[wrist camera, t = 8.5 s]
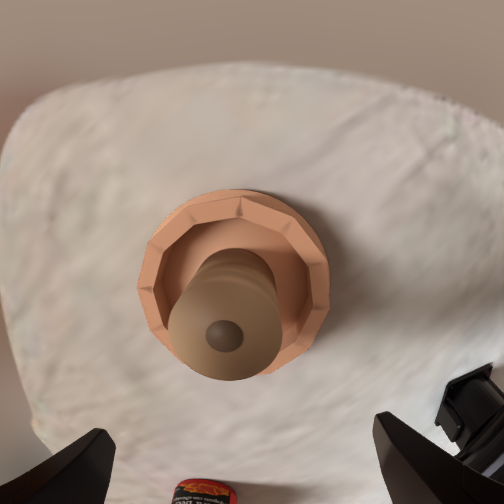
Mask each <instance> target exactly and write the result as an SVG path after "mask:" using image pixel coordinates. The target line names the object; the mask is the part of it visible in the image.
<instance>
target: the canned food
mask: <svg viewBox="0 0 504 504" xmlns="http://www.w3.org/2000/svg"><path fill="white" fill-rule="evenodd" d="M171 504H237V498H236V494H235V492H234V491H233V490H232V489H231V488H230V487H228V486H226V485H224V484H222V483H219V482H215V481H211V480H205V479H189V480H185V481H182V482H180V483H179V484H178V486H177V487H176V489H175V491H174V495H173V499H172V503H171Z"/></svg>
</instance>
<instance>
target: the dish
mask: <svg viewBox="0 0 504 504" xmlns="http://www.w3.org/2000/svg"><path fill="white" fill-rule="evenodd" d="M227 248H241V249H245V250H249V251H251V252H253V253H255V254H257V255H258V256H260V257H261V258H262V259H263V260H264V261H265V262H266V263H267V264H268V266H269V267H270V269H271V270H272V273H273V275H274V279H275V284H276V291H277V297H278V304H279V310H280V317H281V323H282V332H283V338H282V344H281V348H280V351H279V353H278V355H277V356H276V358H275V360H274V361H273V362H272V363H271V364H270V365H269V366H268V367H267V368H266V369H265V370H263V371H262V372H260V373H258V374H256V375H261V374H269V373H272V372H274V371H275V370H277V369H279V368H280V367H282V366H283V365H285V364H287V363H288V362H290V361H291V360H293V359H294V358H296V357H297V356H299V355H300V354H302V353H303V352H305V351H306V350H308V348H310V346H311V344H312V342H313V341H314V339H315V337H316V335H317V333H318V331H319V329H320V327H321V325H322V324H323V322H324V320H325V318H326V316H327V314H328V312H329V310H330V297H329V289H330V271H329V265H328V260H327V257H326V254H325V250H324V248H323V246H322V244H321V242H320V240H319V238H318V236H317V235H316V233H315V232H314V230H313V229H312V227H311V226H310V225H309V224H308V223H307V222H306V220H305V219H304V218H303V217H302V216H300V215H299V214H298V213H297V212H296V211H295V210H293V209H292V208H291V207H289V206H288V205H286V204H285V203H283V202H281V201H280V200H277V199H275V198H273V197H271V196H269V195H265V194H262V193H259V192H255V191H248V190H235V189H230V190H221V191H215V192H211V193H207V194H204V195H201V196H199V197H196V198H194V199H191V200H190V201H188V202H186V203H184V204H183V205H181V206H179V207H178V208H177V209H176V210H174V211H173V212H172V213H171V214H170V215H169V216H168V217H167V218H166V219H165V220H164V221H163V222H162V223H161V225H160V226H159V228H158V229H157V230H156V232H155V233H154V235H153V237H152V239H151V240H150V241H149V242H148V245H147V248H146V252H145V256H144V260H143V264H142V268H141V272H140V276H139V280H138V285H137V290H138V293H139V297H140V300H141V303H142V307H143V310H144V313H145V316H146V319H147V323H148V326H149V329H150V331H151V332H152V333H153V334H154V335H155V336H156V338H157V339H158V340H159V341H160V342H161V343H162V344H163V345H164V346H165V347H166V348H167V349H168V350H169V351H171V352H172V353H173V354H174V355H175V356H176V357H177V358H178V359H179V360H180V361H181V362H182V363H184V362H183V361H182V360H181V359H180V358H179V357H178V355H177V354H176V352H175V351H174V349H173V347H172V344H171V342H170V338H169V333H168V322H169V317H170V314H171V311H172V309H173V307H174V305H175V304H176V302H177V301H178V299H179V297H180V296H181V294H182V293H183V291H184V290H185V288H186V287H187V285H188V284H189V282H190V281H191V279H192V278H193V276H194V275H195V273H196V272H197V270H198V269H199V267H200V266H201V264H202V263H203V262H204V260H206V259H207V258H208V257H209V256H210V255H212V254H213V253H215V252H217V251H220V250H223V249H227ZM184 364H185V363H184Z"/></svg>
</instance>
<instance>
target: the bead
mask: <svg viewBox="0 0 504 504" xmlns="http://www.w3.org/2000/svg"><path fill="white" fill-rule="evenodd" d="M168 333H169V338H170V342H171V344H172V347H173V349H174V351H175V352H176V354H177V355H178V357H179V358H180V359H181V360H182V361H183V362H184V363H185V364H186V365H187V366H188V367H190V368H191V369H192V370H194V371H195V372H197V373H199V374H201V375H204V376H206V377H209V378H213V379H217V380H225V381H234V380H242V379H246V378H249V377H252V376H254V375H256V374H258V373H260V372H262V371H263V370H265V369H266V368H267V367H268V366H269V365H270V364H271V363H272V362H273V361H274V360H275V358H276V356H277V355H278V353H279V351H280V348H281V344H282V338H283V332H282V323H281V317H280V310H279V304H278V297H277V291H276V284H275V279H274V275H273V273H272V270H271V269H270V267H269V266H268V264H267V263H266V262H265V261H264V260H263V259H262V258H261V257H260V256H258V255H257V254H255V253H253V252H251V251H249V250H245V249H241V248H227V249H223V250H220V251H217V252H215V253H213V254H212V255H210V256H209V257H208V258H207V259H206V260H204V262H203V263H202V264H201V266H200V267H199V269H198V270H197V272H196V273H195V275H194V276H193V278H192V279H191V281H190V282H189V284H188V285H187V287H186V288H185V290H184V291H183V293H182V294H181V296H180V297H179V299H178V301H177V302H176V304H175V305H174V307H173V309H172V311H171V314H170V317H169V322H168Z"/></svg>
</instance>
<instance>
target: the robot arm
mask: <svg viewBox="0 0 504 504" xmlns="http://www.w3.org/2000/svg"><path fill="white" fill-rule="evenodd" d="M492 368H493V366H492V365H491V364H488V365H486V366H484V367H482V368H480V369H478V370H476V371H474V372H472V373H470V374H468V375H465V376H463V377H461V378H459V379H456V380H454V381H452V382H450V383H448V384H447V386H446V389H445V392H444V396H443V399H442V402H441V405H440V408H439V411H438V414H437V417H436V420H435V425H436V426H440V425H441V427H442V428H443V430H444V431H445V433H446V435H447V436H448V438H449V440H450V441H451V442H452V443H453V442H456V444H457V446H458V447H459V449H460V452H459V453H458V454H457V455H456V456H454V457H453V456H452V455H450V454H449V453H447V452H446V451H444V450H443V449H441V448H440V447H438V446H437V445H435V444H434V443H433V442H431V441H430V440H428V439H427V438H425V437H424V436H422V435H421V434H420V433H418V432H417V431H415V430H414V429H412V428H411V427H410V426H408V425H407V424H405V423H404V422H403V421H401V420H400V419H398V418H397V417H396V416H394V415H393V414H392V413H390V412H388V411H385V412H382V413H378V414H376V415H375V418H374V424H373V438H374V442H375V446H376V451H377V455H378V459H379V464H380V468H381V472H382V475H383V478H384V481H385V484H386V486H387V489H388V492H389V494H390V497H391V500H392V503H393V504H504V393H503V392H502V391H501V390H500V389H499V388H498V387H497V386H496V385H495V384H494V382H493V381H492V380H491V379H490V378H489V377H490V374H491V371H492ZM115 450H116V446H115V443H114V441H113V440H112V438H111V437H110V435H109V434H108V432H107V431H106V430H105V429H101V428H94V429H92V430H91V431H89V432H88V433H87V434H85V435H84V436H82V437H81V438H79V439H78V440H76V441H75V442H73V443H72V444H70V445H69V446H67V447H66V448H64V449H63V450H61V451H59V452H58V453H56V454H55V455H53V456H52V457H50V458H49V459H47V460H45V461H44V462H42V463H41V464H39V465H37V466H36V467H34V468H33V469H31V470H30V471H28V472H26V473H24V474H23V475H21V476H19V477H18V478H16V479H14V480H12V481H10V482H8V483H6V484H3V485H1V486H0V504H104V501H105V497H106V494H107V490H108V487H109V483H110V478H111V473H112V467H113V461H114V456H115Z"/></svg>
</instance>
